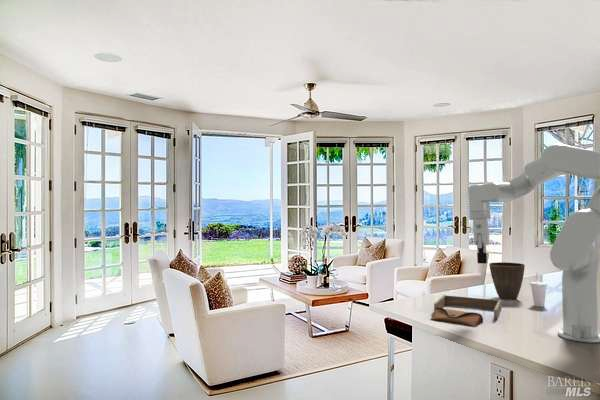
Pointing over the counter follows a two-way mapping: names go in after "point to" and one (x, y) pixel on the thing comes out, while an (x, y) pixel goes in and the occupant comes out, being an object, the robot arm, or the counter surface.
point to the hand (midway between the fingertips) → (482, 263)
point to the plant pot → (507, 279)
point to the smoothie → (538, 292)
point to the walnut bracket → (470, 303)
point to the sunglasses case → (457, 317)
